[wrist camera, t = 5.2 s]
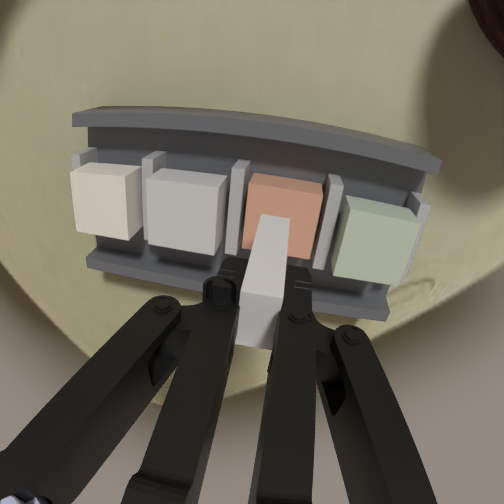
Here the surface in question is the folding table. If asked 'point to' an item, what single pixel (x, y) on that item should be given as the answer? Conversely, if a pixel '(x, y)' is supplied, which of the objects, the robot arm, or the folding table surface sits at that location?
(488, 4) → the black ball on stand
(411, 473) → the robot arm
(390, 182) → the keypad board
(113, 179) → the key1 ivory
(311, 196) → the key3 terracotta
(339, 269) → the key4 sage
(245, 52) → the folding table surface
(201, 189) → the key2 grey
